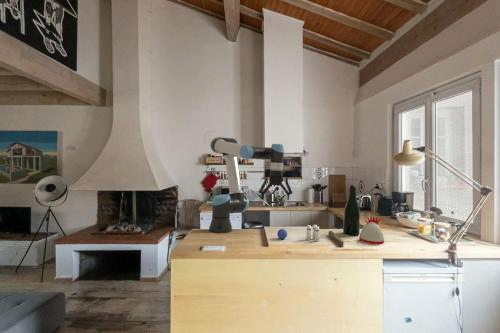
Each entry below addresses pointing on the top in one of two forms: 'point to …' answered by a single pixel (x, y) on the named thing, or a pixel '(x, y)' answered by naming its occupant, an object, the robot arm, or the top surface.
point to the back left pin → (314, 231)
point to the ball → (282, 233)
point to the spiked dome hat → (372, 232)
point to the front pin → (308, 232)
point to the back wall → (336, 238)
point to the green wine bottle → (351, 214)
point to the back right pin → (316, 234)
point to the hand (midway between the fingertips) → (274, 205)
